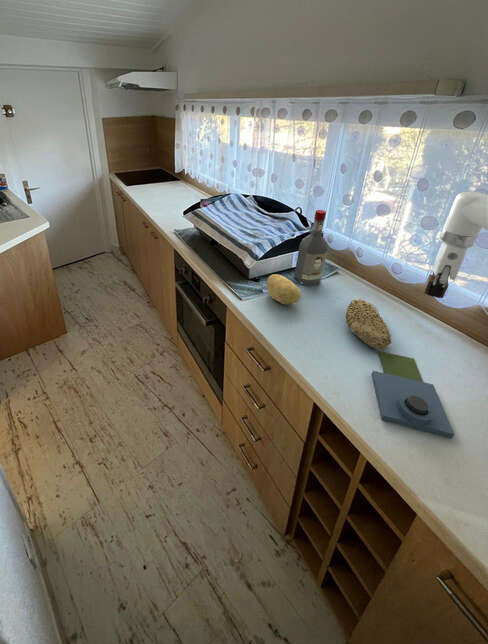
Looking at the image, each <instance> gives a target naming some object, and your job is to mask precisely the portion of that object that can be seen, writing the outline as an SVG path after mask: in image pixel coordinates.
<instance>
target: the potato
mask: <svg viewBox="0 0 488 644" xmlns="http://www.w3.org/2000/svg"><path fill="white" fill-rule="evenodd" d="M266 290H267V292H268V295H269V297H271V298H272V299H273V300H275V301H276V302H278V303H279V304H282V305H285V306H286V305H295V304H297V303H298V302H300V300H301V297H302V293H301V290H300V289H299V287H298V286H297V285H296V284H295V283H294V282H292V281H291V280H290V279H288V278H287V277H285V276H283V275H281V274H278V273H277V274H273V273H272V274H271V275H269V276H268V277H267V281H266Z"/></svg>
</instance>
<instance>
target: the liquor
mask: <svg viewBox="0 0 488 644" xmlns="http://www.w3.org/2000/svg"><path fill="white" fill-rule="evenodd" d="M326 216H327V211H326V210H324V209H316V210H315V213H314V217H313V218H314V220H313V225H312V229H311V232H310V234H308V235H306V236H305V237H304V238H302V240H301V241H300V243H299V246H298V252H297V258H296V263H295V268H294V273H293V277H294V276H295V277H296V278H297V279H298V280H299V281H300V282H302V283H303V284H305V285H304V286H307V287H308V286H314V285H319V284H320V282H321V280H322V276H323V273H324V267H325V263H326V260H327V256H328V252H329V251H328V250H329V244H328V242H327V241H326V239H325V238H324V237H323V229H324V228H323V227H324V223H325V220H326ZM295 277H294V278H295ZM296 278H295V279H296ZM297 279H296V280H297ZM298 280H297V281H298ZM299 281H298V282H299ZM300 282H299V283H300ZM303 284H302V285H303Z"/></svg>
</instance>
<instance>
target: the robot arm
mask: <svg viewBox="0 0 488 644" xmlns="http://www.w3.org/2000/svg"><path fill="white" fill-rule="evenodd" d="M482 228H483V229H485V230H487V231H488V194H487V193H484V192H479V191H462V192H460V193H458V194H457V195H456V197H455V198H454V201H453V203H452V206H451V208H450V211H449V213H448V215H447V218H446V220H445V223H444V225H443V227H442V230H441V233H440V234H439V237H438V241H440V242H441V245H440V247H439V250H438V252H437V254H436V257H435V260H434V263H433V267H434V268H433V272H432V275H435V279H434V281H433V283H431V285H430V288H429V290H428V292H427V294H426V295H427V296H429V297H433V298H437V299H441V298H440V297H441V295H442V293H443V291H444V288H445V285H446V283H447V280H448V281H449V279H450V280H451V281H455V280H456V279H457V277H458V274H459V272H460V270H461V267H462V265H463V262H464V260H465V258H466V257H465V256H466V255H467V252H468V249H470V248H472V247H474V245H475V242H476V240H477V238H478V236H479V234H480V232H481V230H482ZM438 277H439V278H440V280H439V279H438ZM437 279H438V280H437Z"/></svg>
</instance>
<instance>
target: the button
mask: <svg viewBox="0 0 488 644" xmlns="http://www.w3.org/2000/svg"><path fill="white" fill-rule="evenodd" d="M406 406H407V408H408V409H409V410H410V411H412V412H413V413H415V414H417V415H425V414H426V412H427V410H428V404H427V403H426V402H425V401H424V400H423V399H422V398H420V397H418V396H409V397H408V399H407V401H406Z"/></svg>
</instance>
